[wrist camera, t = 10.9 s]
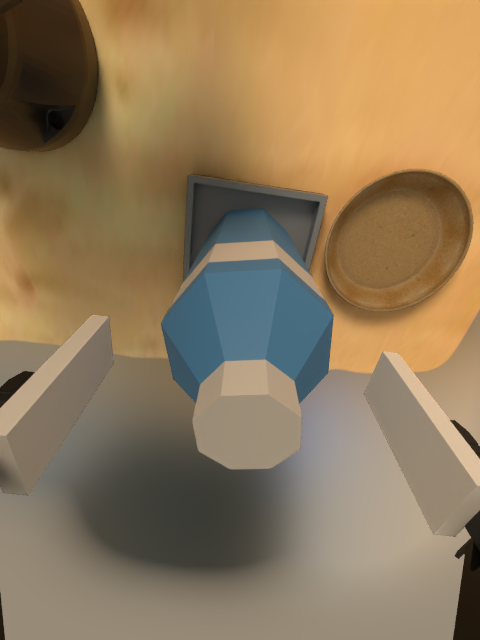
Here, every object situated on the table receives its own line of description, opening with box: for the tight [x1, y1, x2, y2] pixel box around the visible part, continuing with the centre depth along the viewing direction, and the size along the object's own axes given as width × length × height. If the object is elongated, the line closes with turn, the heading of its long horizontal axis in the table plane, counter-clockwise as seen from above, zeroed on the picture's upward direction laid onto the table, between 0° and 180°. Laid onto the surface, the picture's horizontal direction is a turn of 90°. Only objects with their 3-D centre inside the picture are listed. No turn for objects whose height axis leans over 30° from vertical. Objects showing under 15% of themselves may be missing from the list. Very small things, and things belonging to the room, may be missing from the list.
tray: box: [183, 174, 328, 282], centre depth 32 cm, size 14×14×2 cm
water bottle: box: [161, 209, 334, 469], centre depth 22 cm, size 9×9×25 cm
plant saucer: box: [325, 169, 473, 312], centre depth 31 cm, size 15×15×3 cm
